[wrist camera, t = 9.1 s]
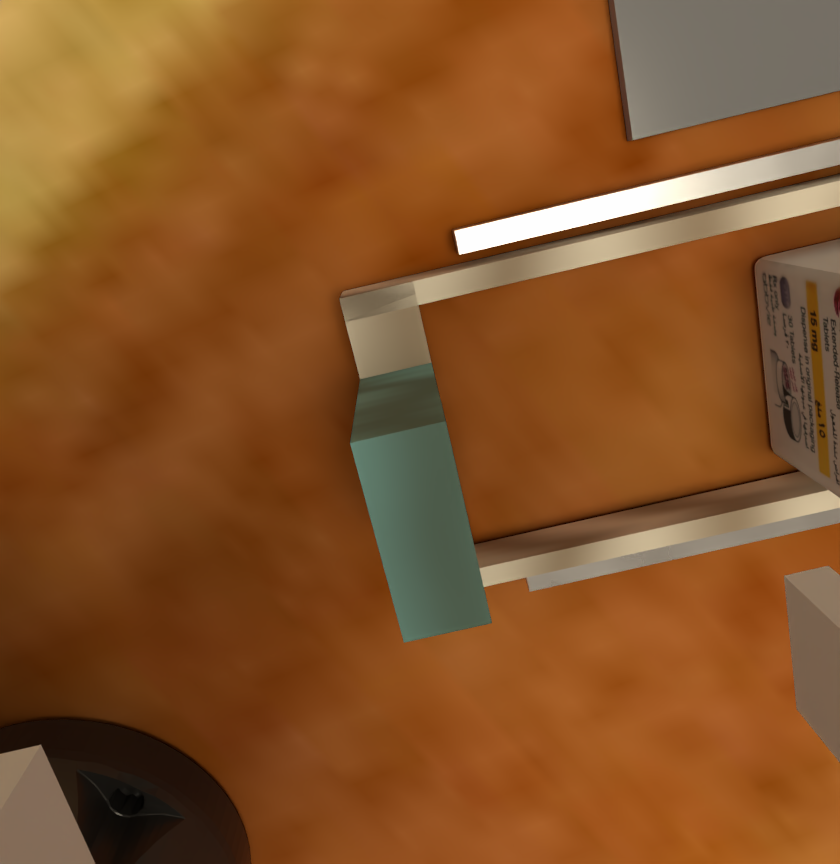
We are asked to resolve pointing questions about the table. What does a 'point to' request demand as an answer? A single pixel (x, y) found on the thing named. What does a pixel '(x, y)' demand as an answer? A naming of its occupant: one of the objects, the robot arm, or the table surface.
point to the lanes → (634, 202)
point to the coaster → (720, 58)
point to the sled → (432, 452)
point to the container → (803, 357)
